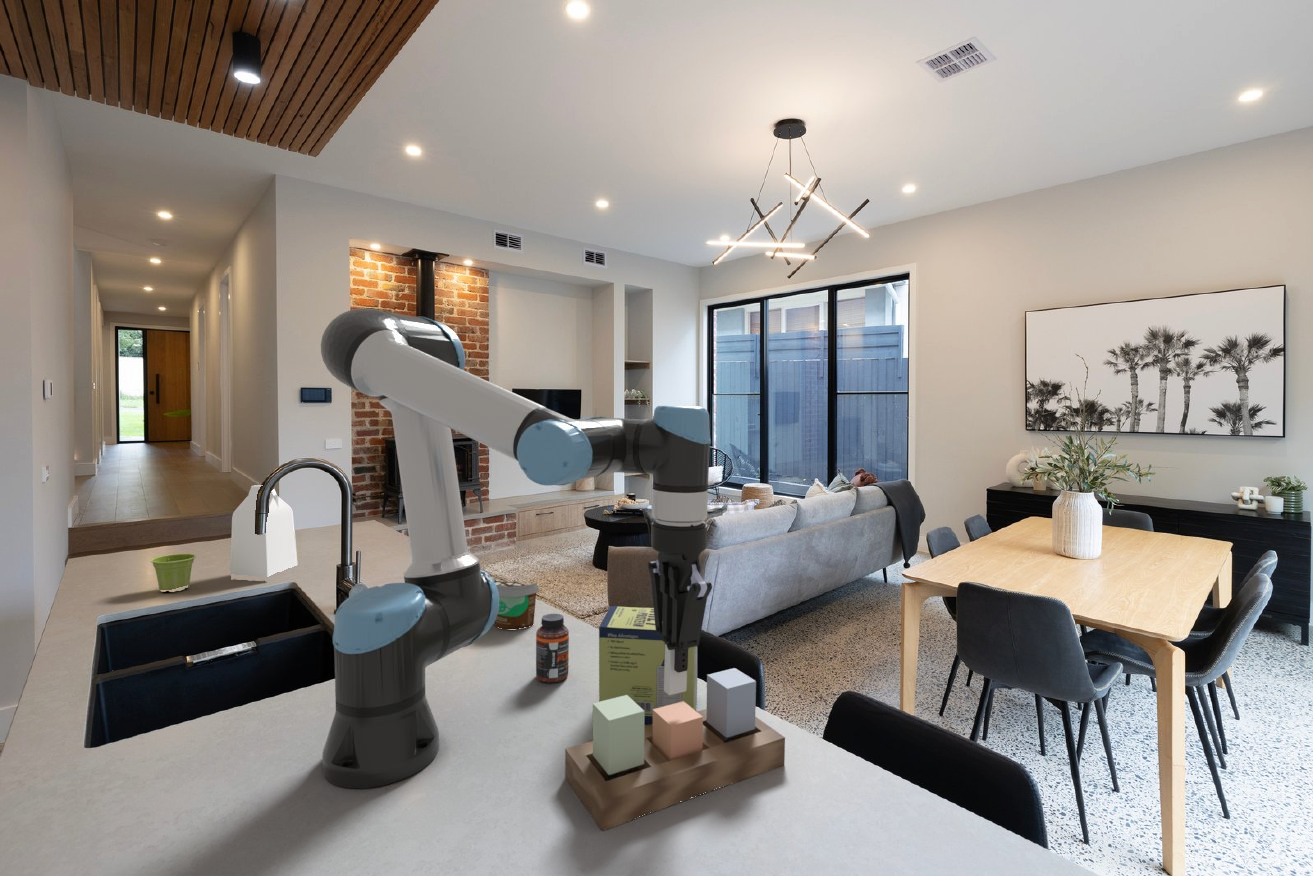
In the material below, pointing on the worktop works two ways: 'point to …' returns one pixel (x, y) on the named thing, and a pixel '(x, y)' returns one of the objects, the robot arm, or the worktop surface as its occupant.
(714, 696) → the slate upright cuboid
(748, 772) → the walnut board
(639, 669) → the protein box
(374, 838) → the worktop surface
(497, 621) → the food container
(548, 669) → the supplement bottle
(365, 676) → the robot arm
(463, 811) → the worktop surface
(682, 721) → the peach rectangular prism
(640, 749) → the sage rectangular block
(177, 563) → the plant pot
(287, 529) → the milk
